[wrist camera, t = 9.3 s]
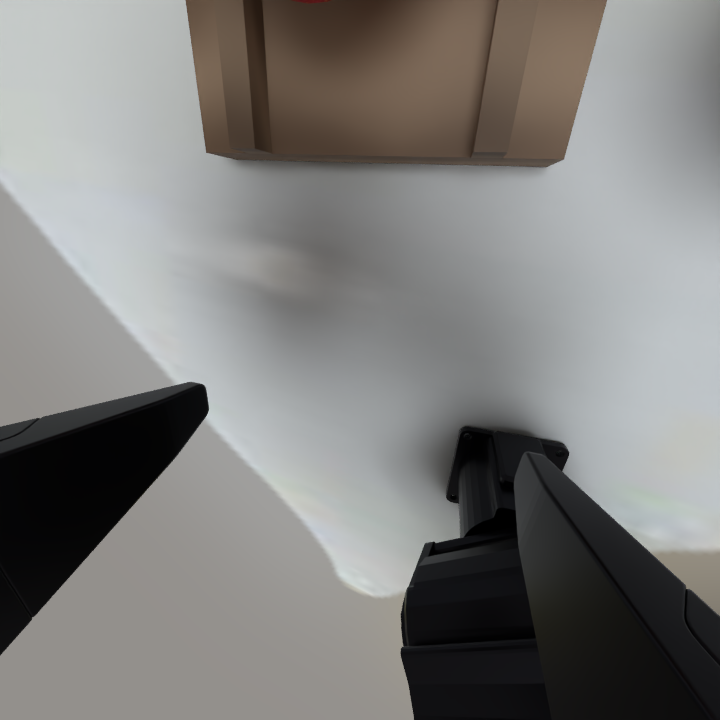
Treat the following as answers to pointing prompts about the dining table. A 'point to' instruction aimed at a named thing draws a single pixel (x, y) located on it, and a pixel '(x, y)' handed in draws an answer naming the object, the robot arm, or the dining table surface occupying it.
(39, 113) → the dining table surface
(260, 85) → the stand
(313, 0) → the strawberry
